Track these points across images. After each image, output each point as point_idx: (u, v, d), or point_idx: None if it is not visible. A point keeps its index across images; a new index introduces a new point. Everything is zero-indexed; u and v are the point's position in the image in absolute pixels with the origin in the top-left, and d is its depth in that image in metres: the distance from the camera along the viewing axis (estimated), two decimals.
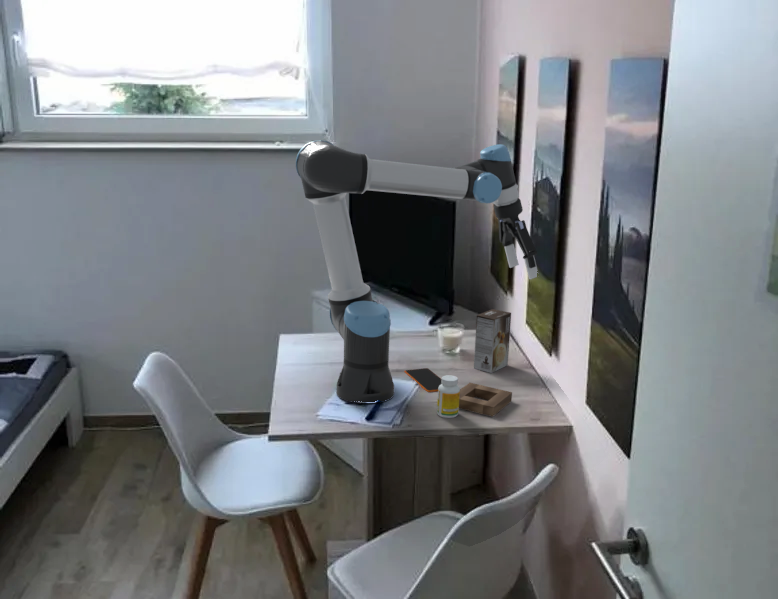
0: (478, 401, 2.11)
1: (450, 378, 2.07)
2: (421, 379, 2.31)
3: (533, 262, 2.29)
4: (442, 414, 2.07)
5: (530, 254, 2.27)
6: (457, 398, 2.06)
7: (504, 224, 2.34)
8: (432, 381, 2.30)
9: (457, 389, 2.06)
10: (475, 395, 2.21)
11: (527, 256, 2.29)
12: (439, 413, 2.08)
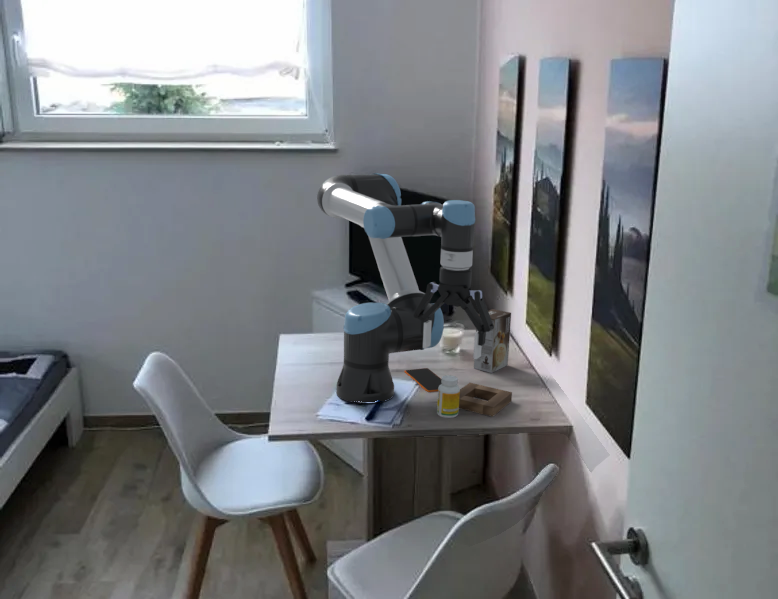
0: (478, 401, 2.11)
1: (450, 378, 2.07)
2: (421, 379, 2.31)
3: None
4: (442, 414, 2.07)
5: None
6: (457, 398, 2.06)
7: None
8: (432, 381, 2.30)
9: (457, 389, 2.06)
10: (475, 395, 2.21)
11: None
12: (439, 413, 2.08)
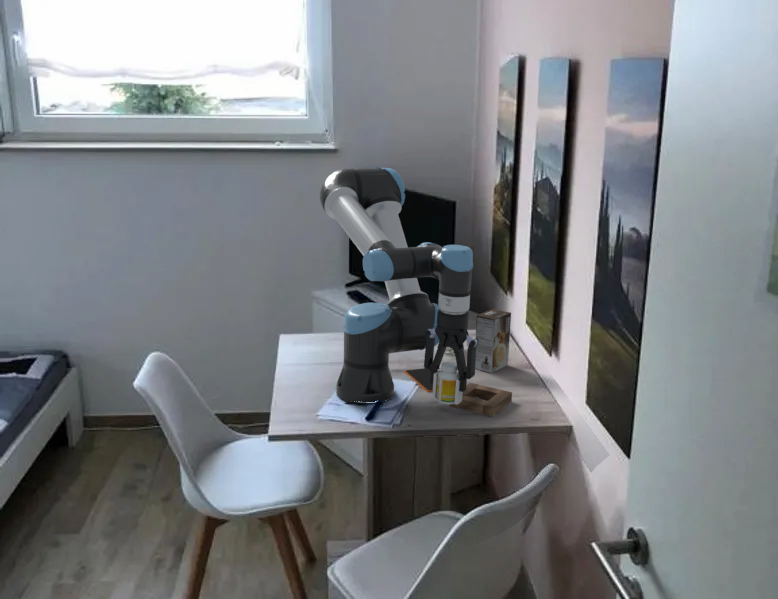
0: (478, 401, 2.11)
1: (450, 365, 2.06)
2: (421, 379, 2.31)
3: None
4: (442, 401, 2.07)
5: None
6: None
7: None
8: None
9: (457, 376, 2.06)
10: (475, 395, 2.21)
11: None
12: (439, 399, 2.07)
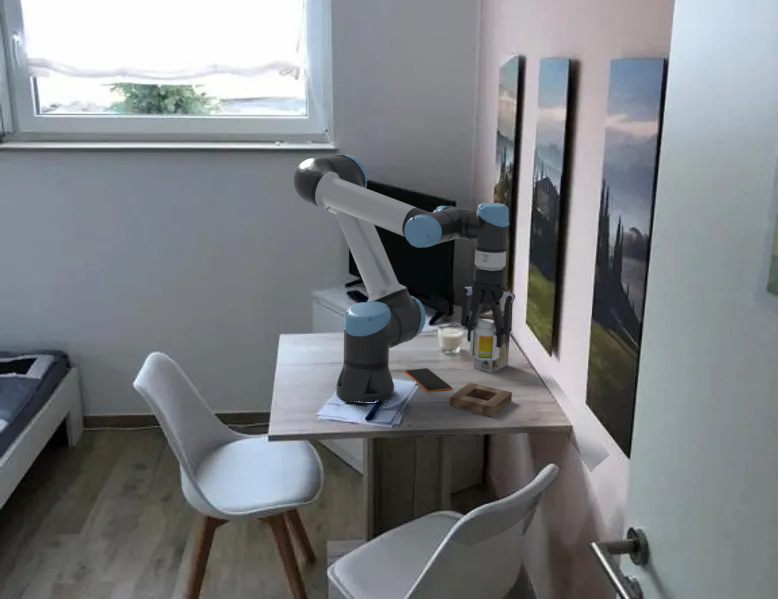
0: (478, 401, 2.11)
1: (487, 321, 2.10)
2: (421, 379, 2.31)
3: None
4: (479, 357, 2.11)
5: None
6: None
7: None
8: (432, 381, 2.30)
9: (494, 332, 2.10)
10: (475, 395, 2.21)
11: None
12: (476, 355, 2.11)
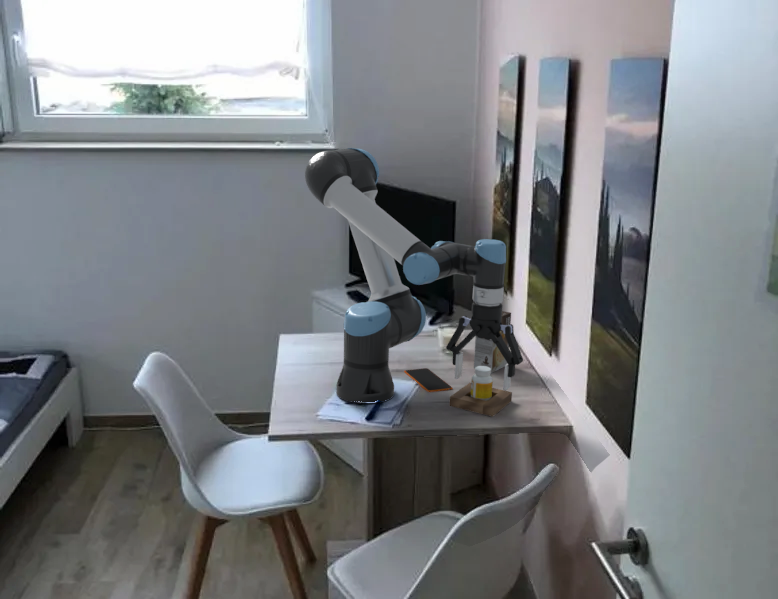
0: (478, 401, 2.11)
1: (483, 368, 2.14)
2: (421, 379, 2.31)
3: None
4: None
5: None
6: (490, 388, 2.14)
7: None
8: (432, 381, 2.30)
9: (490, 379, 2.13)
10: None
11: None
12: None
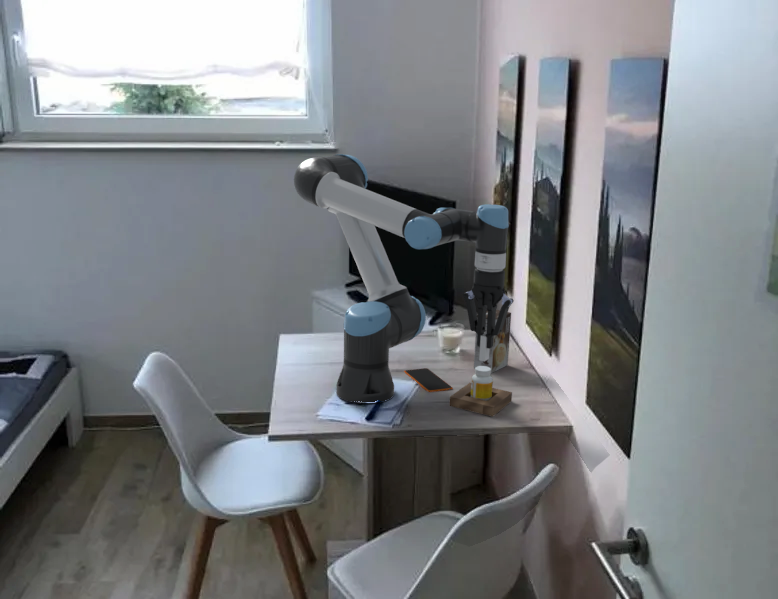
0: (478, 401, 2.11)
1: (483, 368, 2.14)
2: (421, 379, 2.31)
3: None
4: None
5: None
6: (490, 388, 2.14)
7: None
8: (432, 381, 2.30)
9: (490, 379, 2.13)
10: None
11: None
12: None
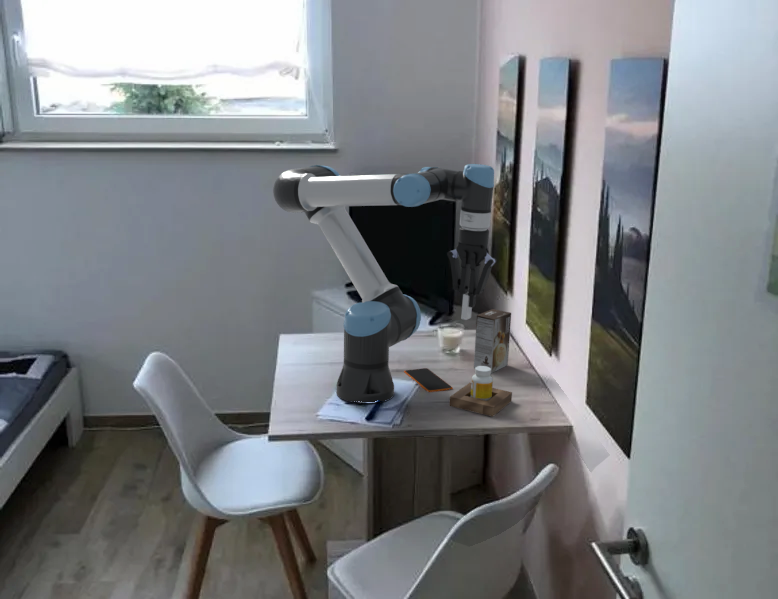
0: (478, 401, 2.11)
1: (483, 369, 2.14)
2: (421, 379, 2.31)
3: None
4: None
5: None
6: (490, 388, 2.14)
7: None
8: (432, 381, 2.30)
9: (490, 379, 2.13)
10: None
11: None
12: None
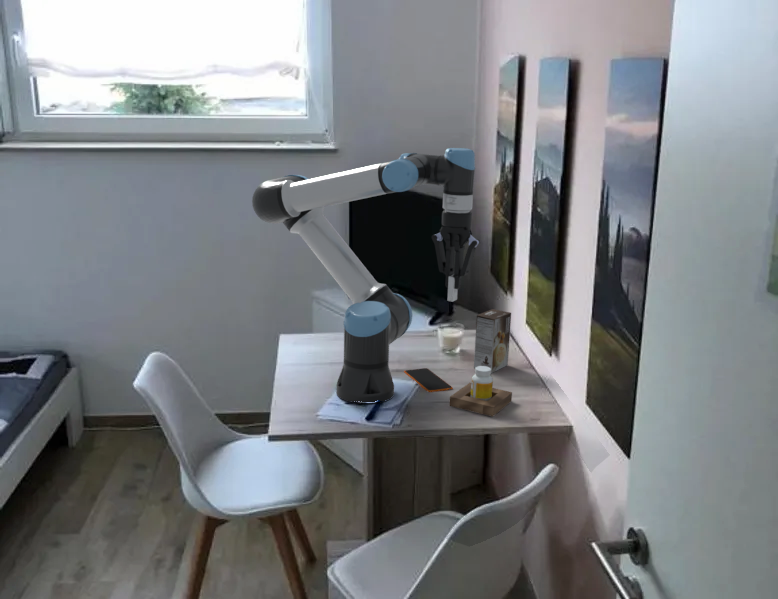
0: (478, 401, 2.11)
1: (483, 369, 2.14)
2: (421, 379, 2.31)
3: None
4: None
5: None
6: (490, 388, 2.14)
7: None
8: (432, 381, 2.30)
9: (490, 379, 2.13)
10: None
11: None
12: None
